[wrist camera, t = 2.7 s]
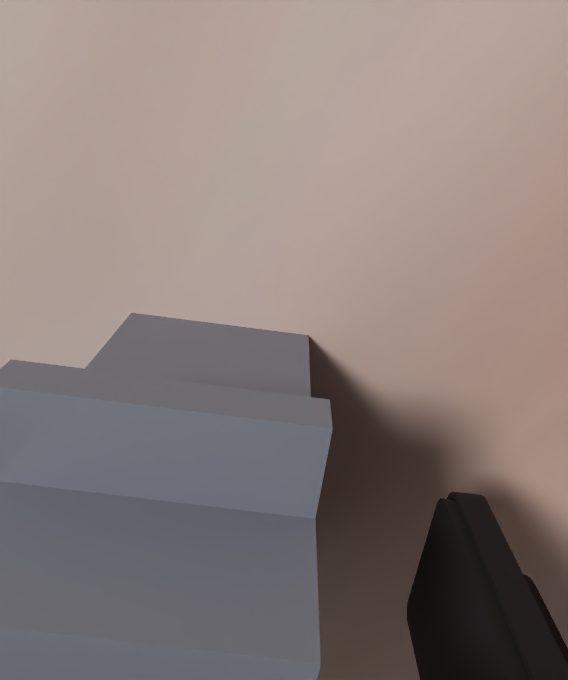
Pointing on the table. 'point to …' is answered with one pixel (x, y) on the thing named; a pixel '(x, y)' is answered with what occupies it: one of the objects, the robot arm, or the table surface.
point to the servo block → (163, 508)
